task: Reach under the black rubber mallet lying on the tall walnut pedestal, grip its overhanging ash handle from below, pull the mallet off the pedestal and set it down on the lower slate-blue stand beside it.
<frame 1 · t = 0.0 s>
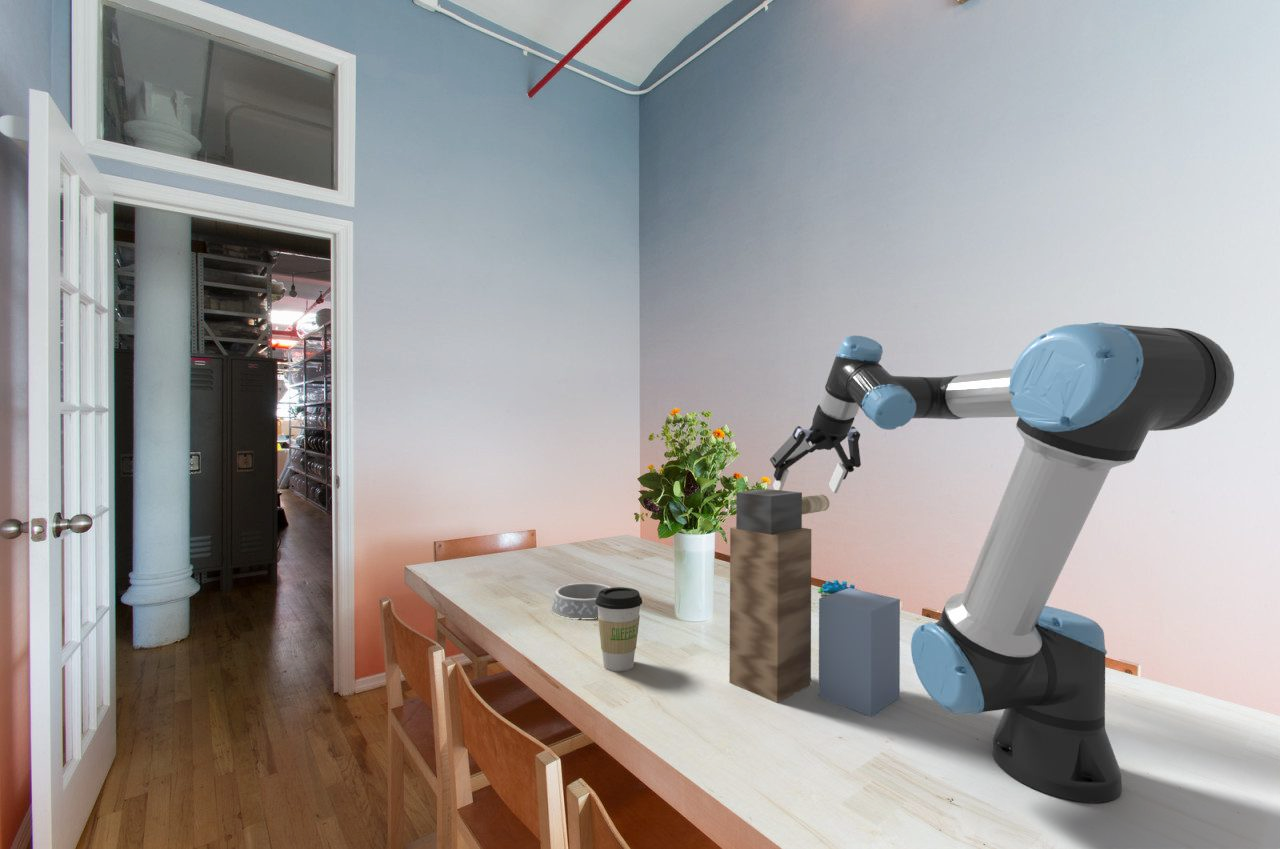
hand: (804, 489, 127), 36 cm above the table, tool tilted 35°, fingers open, 13 cm apart
blue knobbly piece: (838, 605, 163), on the table
walnut pedestal: (769, 683, 111), on the table
dog bowl: (584, 610, 157), on the table
slate stand: (859, 696, 106), on the table
coffee cup: (618, 666, 120), on the table
rubber mallet: (769, 528, 111), point 30 cm above the table, touching walnut pedestal
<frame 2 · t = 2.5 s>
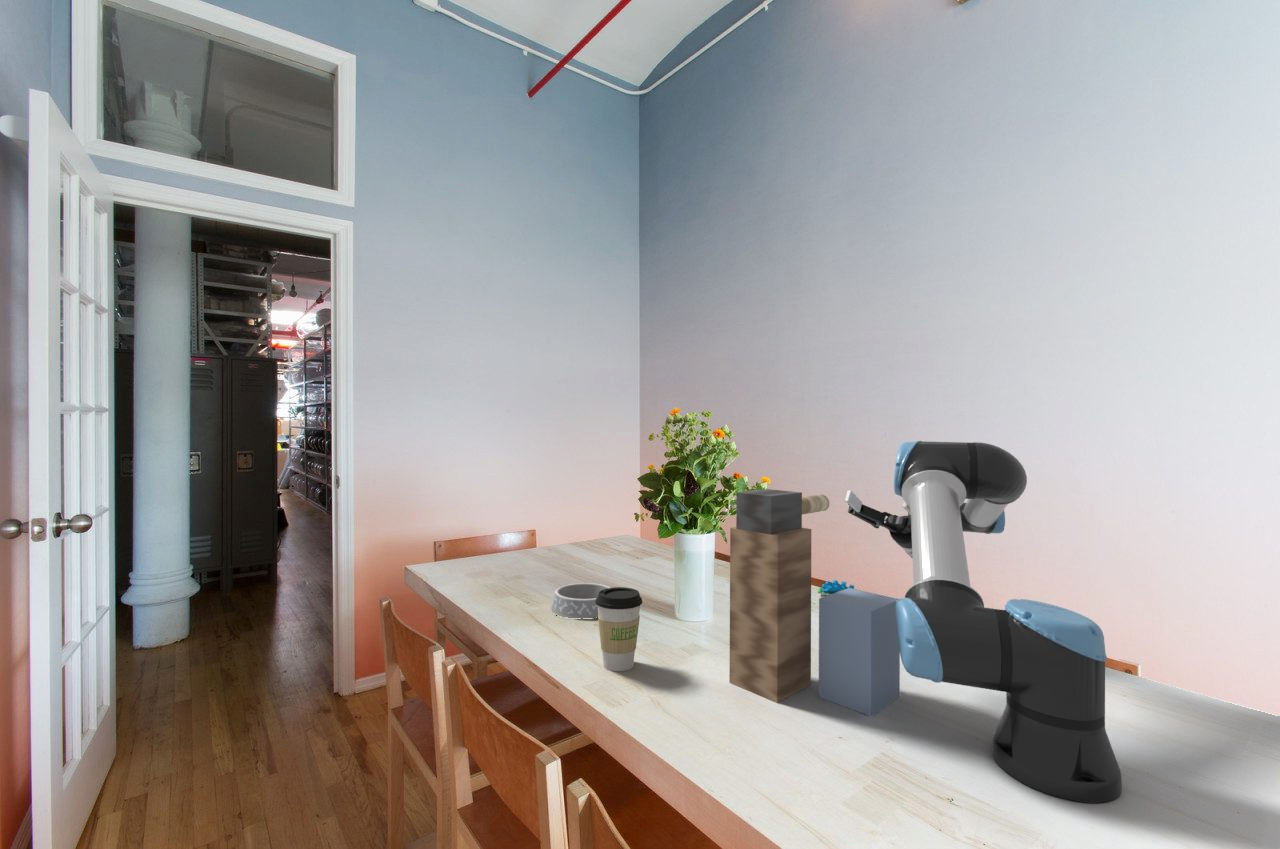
hand: (875, 498, 132), 34 cm above the table, tool pointing upward, fingers open, 13 cm apart
nothing on the table moved.
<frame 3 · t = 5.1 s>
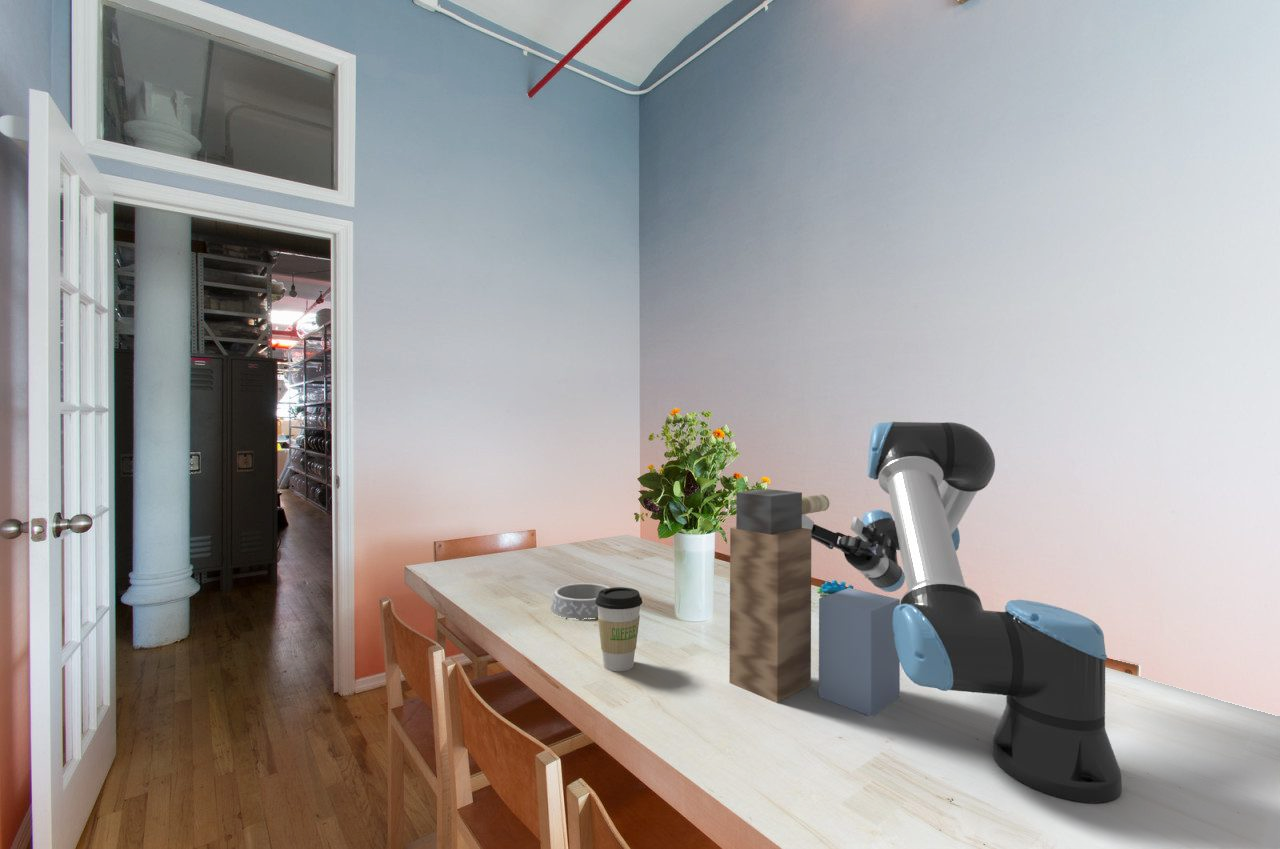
hand: (824, 518, 125), 30 cm above the table, tool pointing upward, fingers open, 13 cm apart
nothing on the table moved.
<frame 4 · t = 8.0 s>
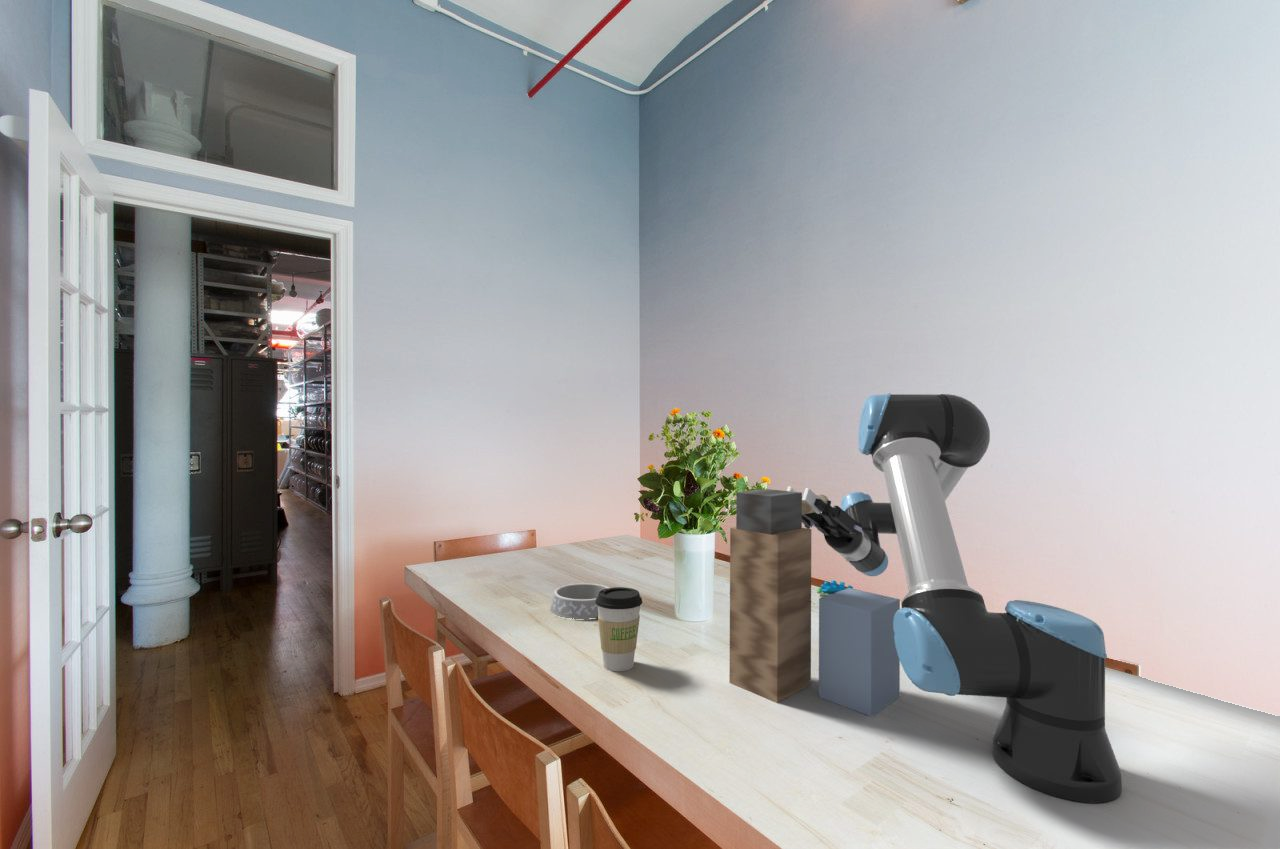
hand: (796, 493, 118), 36 cm above the table, tool pointing upward, fingers closed on rubber mallet, 3 cm apart
rubber mallet: (769, 528, 111), point 30 cm above the table, touching gripper, walnut pedestal
everything else where it was.
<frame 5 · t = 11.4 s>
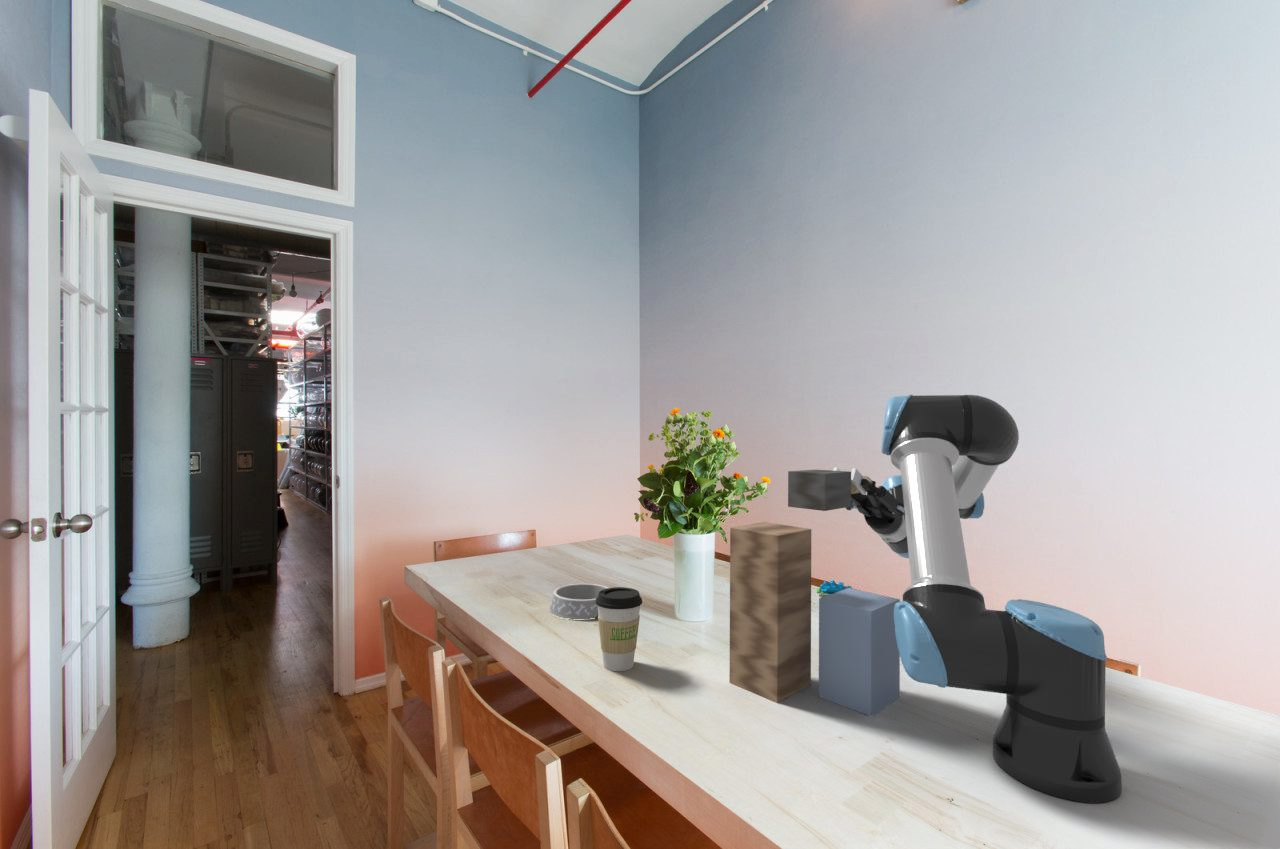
hand: (843, 473, 121), 40 cm above the table, tool pointing upward, fingers closed on rubber mallet, 3 cm apart
rubber mallet: (819, 506, 115), point 34 cm above the table, touching gripper
when the fingers open (26 cm above the table, at t = 15.2 s): rubber mallet drops 1 cm, resting on slate stand.
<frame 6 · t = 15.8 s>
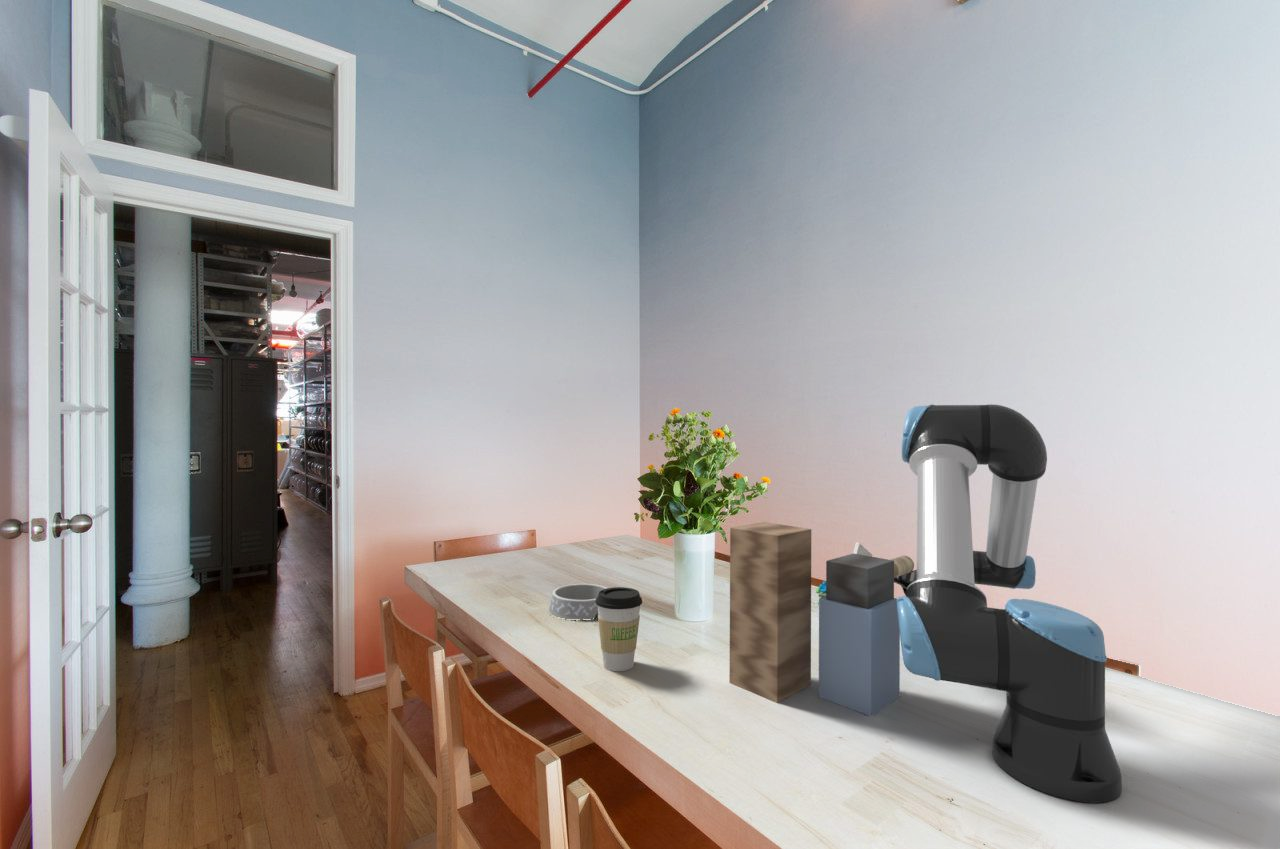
hand: (886, 553, 114), 25 cm above the table, tool pointing upward, fingers open, 12 cm apart
rubber mallet: (860, 598, 107), point 18 cm above the table, touching slate stand
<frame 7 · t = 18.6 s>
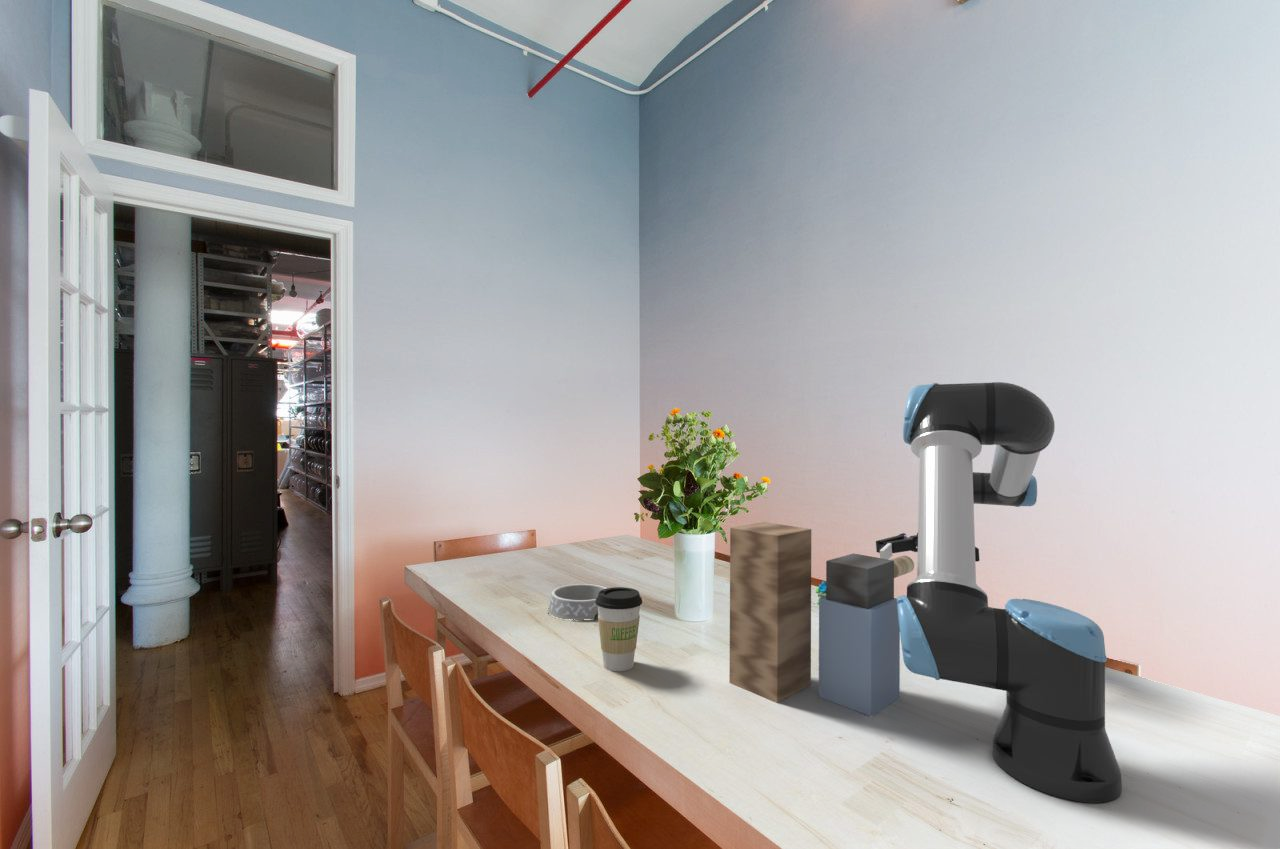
hand: (916, 560, 118), 23 cm above the table, tool horizontal, fingers open, 13 cm apart
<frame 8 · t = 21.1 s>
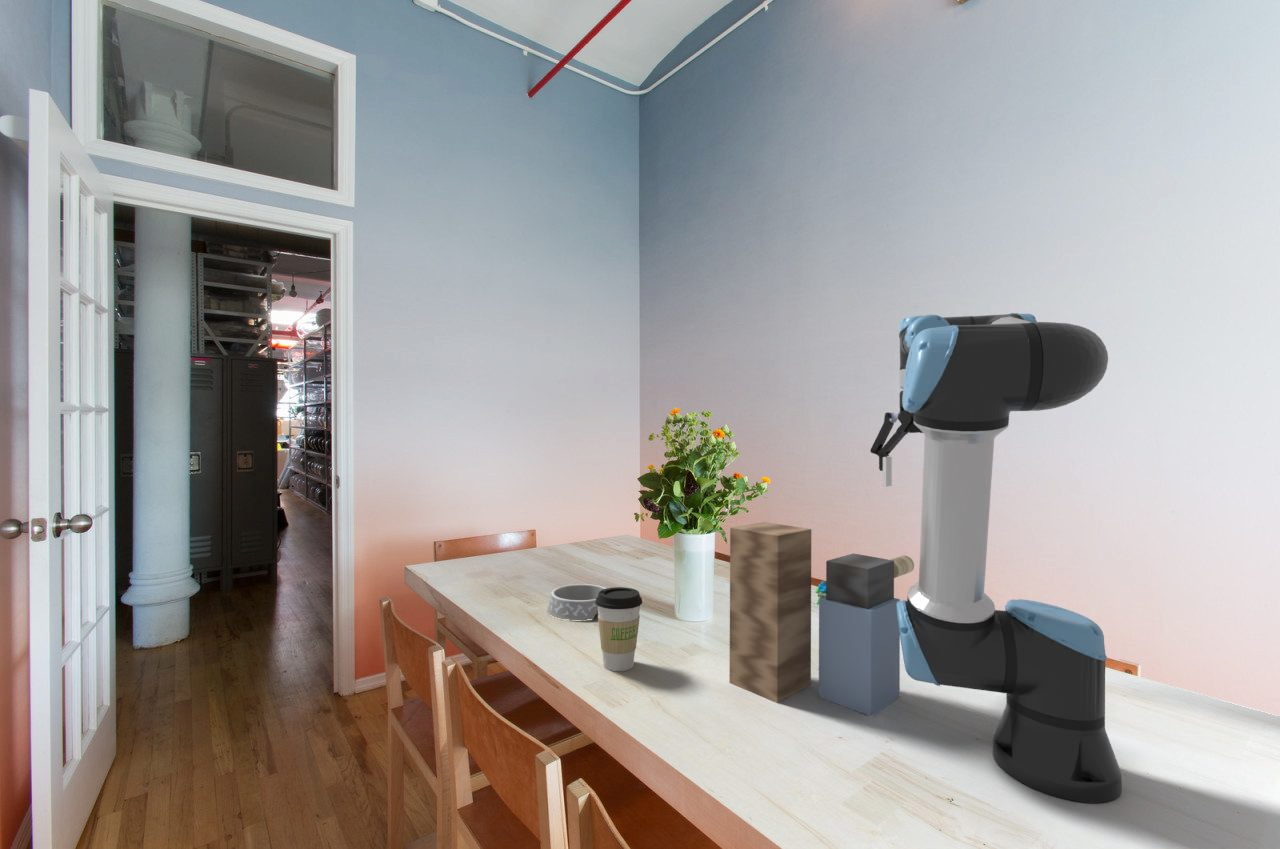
hand: (918, 488, 124), 37 cm above the table, tool pointing down, fingers open, 13 cm apart
at the end: rubber mallet inside the target area (0.2 cm from its centre), point 18.0 cm above the table; rubber mallet touching slate stand; the gripper is holding nothing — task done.
